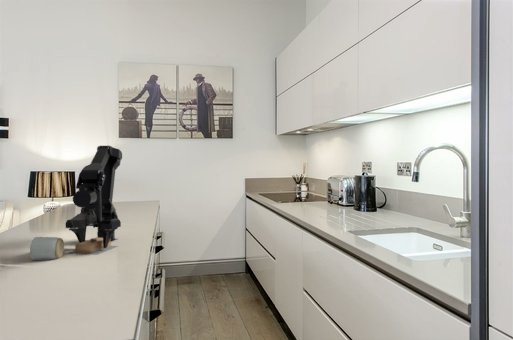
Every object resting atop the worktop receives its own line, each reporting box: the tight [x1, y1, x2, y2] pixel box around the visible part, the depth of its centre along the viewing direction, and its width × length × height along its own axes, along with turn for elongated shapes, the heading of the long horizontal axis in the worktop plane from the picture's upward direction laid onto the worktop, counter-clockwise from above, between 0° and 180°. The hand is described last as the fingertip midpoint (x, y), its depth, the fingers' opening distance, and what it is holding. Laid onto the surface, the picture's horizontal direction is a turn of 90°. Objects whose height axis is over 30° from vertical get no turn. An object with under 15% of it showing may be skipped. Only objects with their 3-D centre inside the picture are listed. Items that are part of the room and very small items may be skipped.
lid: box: [74, 237, 112, 255], centre depth 126 cm, size 11×6×4 cm, turn 167°
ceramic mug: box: [29, 236, 65, 261], centre depth 117 cm, size 11×8×8 cm
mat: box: [67, 245, 119, 255], centre depth 126 cm, size 12×12×1 cm
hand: (93, 247), depth 126 cm, fingers open, 9 cm apart
